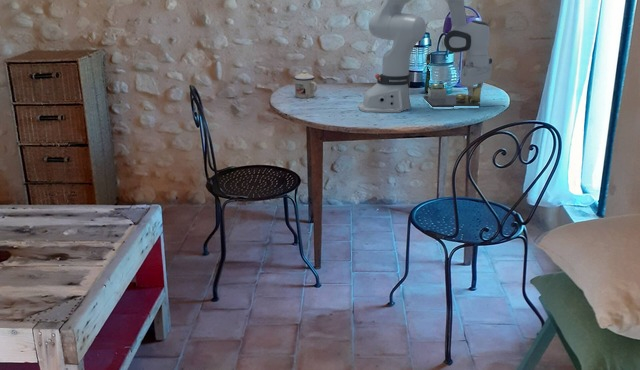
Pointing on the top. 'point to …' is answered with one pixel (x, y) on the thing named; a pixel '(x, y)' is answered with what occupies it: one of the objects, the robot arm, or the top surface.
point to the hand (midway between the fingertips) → (474, 94)
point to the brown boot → (473, 98)
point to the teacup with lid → (305, 85)
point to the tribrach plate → (444, 98)
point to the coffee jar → (427, 73)
